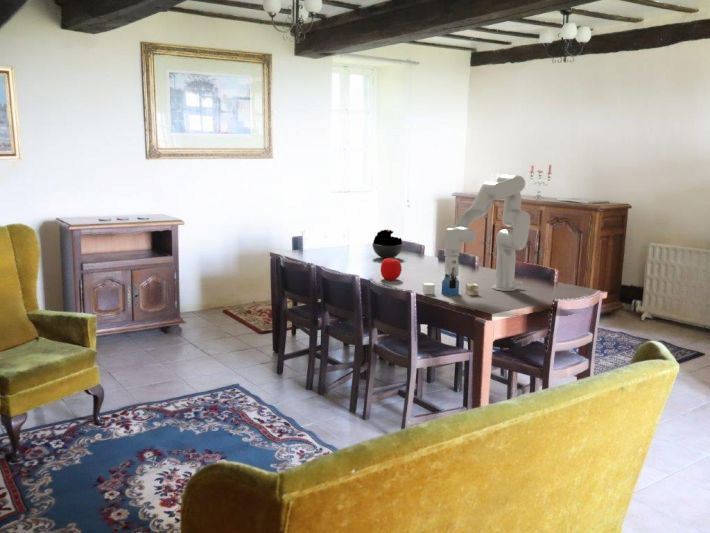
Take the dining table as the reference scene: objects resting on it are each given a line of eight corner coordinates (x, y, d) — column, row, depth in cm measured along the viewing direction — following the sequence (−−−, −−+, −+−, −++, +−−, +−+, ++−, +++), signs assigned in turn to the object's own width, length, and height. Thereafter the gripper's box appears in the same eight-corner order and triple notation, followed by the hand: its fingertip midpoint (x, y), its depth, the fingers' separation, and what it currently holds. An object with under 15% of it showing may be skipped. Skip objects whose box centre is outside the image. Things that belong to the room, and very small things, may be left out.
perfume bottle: (448, 291, 328) (449, 268, 326) (458, 293, 324) (459, 270, 322) (441, 293, 324) (442, 270, 322) (452, 295, 320) (453, 272, 318)
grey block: (432, 292, 327) (432, 282, 326) (434, 294, 322) (434, 285, 321) (422, 292, 326) (423, 282, 325) (424, 294, 321) (425, 285, 320)
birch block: (475, 292, 327) (475, 283, 326) (478, 295, 322) (478, 285, 321) (465, 293, 327) (466, 283, 326) (468, 295, 322) (468, 285, 321)
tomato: (383, 276, 362) (384, 254, 360) (403, 278, 358) (404, 256, 356) (377, 281, 351) (377, 258, 348) (397, 282, 347) (398, 260, 344)
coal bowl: (389, 255, 433) (390, 227, 429) (408, 259, 417) (409, 231, 413) (366, 257, 421) (366, 229, 418) (384, 262, 405) (385, 233, 402)
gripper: (463, 255, 312) (461, 290, 315) (454, 249, 329) (452, 282, 332) (449, 255, 311) (447, 289, 314) (440, 249, 328) (438, 282, 331)
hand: (449, 286), depth 323 cm, fingers closed on perfume bottle, 9 cm apart
